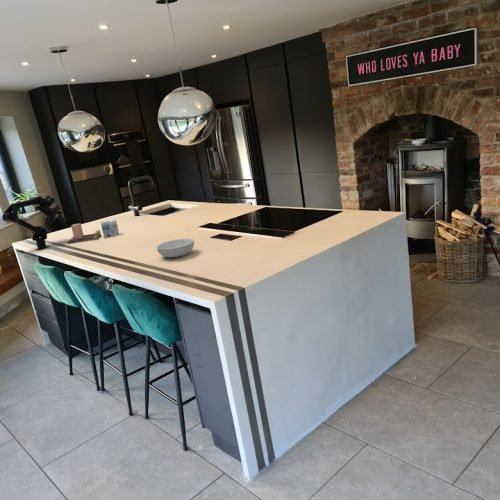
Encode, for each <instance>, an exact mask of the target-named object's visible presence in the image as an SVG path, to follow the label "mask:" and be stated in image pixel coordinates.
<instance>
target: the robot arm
mask: <svg viewBox="0 0 500 500" xmlns="http://www.w3.org/2000/svg"><path fill="white" fill-rule="evenodd" d="M55 202H56V199H55V198H54V197H52V196H50V194H49V195H46V197H44V198H43V196H39V195H38V196H32V197H30V198H29V199H26V200H22V201H18V202H13V203H10V204H9V206H8V207H7V208H6V209H5V211H4V212H3V214H2V217H1V218H2V221H3V222H6V223H9V224H15V225H16V226H18V227H20V228H23V229H25V230H27V231H28V232H30V233H32V237H31V239H32V241H33V242H35V243H36V247H37V248H36V249H35V250H36V251H40V250H45V249H47V248H49V246H48V245H47V243H46V240H47V239H48V230H47V229H46V228H45V227H43V226H41V225H37V226H36V225H33V224H31V223H29V222H27V221H26V220H23V219H21V218H20V217H19V216H18V214H19V210H20V209H21V208H25V207H29V206H35V207H34V209H35V213H38V211H39V212H41V214H43V215H44V216H45V217H48V219H47V223H49V224H52V223H54V224H60V225H66V224H68V222H67V220H66V219H65V218H64V217H63V213H64V211H63V210H62V208H63V207H62V205H61V204H59V203H57V204H56V205H55V207H52V206H53V205H54V204H55Z"/></svg>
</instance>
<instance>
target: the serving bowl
mask: <svg viewBox="0 0 500 500" xmlns="http://www.w3.org/2000/svg"><path fill="white" fill-rule="evenodd" d="M194 246H195V240H194V239H192V238H177V239H173V240H168V241H164V242H162V243H160V244H158V245H157V246H156V251H157V252H158V254H159V255H161V257H165V258H171V257H172V258H171V259H175V258H174V257H176V258H180V256H181V257H183V256H185V255H187V254H189V253H190V252H191V251H193V248H194Z"/></svg>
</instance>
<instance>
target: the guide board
mask: <svg viewBox="0 0 500 500" xmlns="http://www.w3.org/2000/svg"><path fill="white" fill-rule="evenodd" d="M83 235H84V237H83V238H78V239H74V236H72V238H70V239H69V240H67V242H66V243H67V244H68V245H69V244H70V245H71V244H76V243H83V242H89V241H95V240H96V241H97V240H99V239H100V238H101V237H102V233H101V230H100V229H97V230H96V231H94V233H90V234H83Z"/></svg>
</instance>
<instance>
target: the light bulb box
mask: <svg viewBox="0 0 500 500" xmlns="http://www.w3.org/2000/svg"><path fill="white" fill-rule="evenodd" d="M100 225H101V230H102V234H103V238H104V239H105V238H112V237H118V235H120V232H119V227H118V223H117V219H111V220H106V221H102V222H101V223H100Z"/></svg>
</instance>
